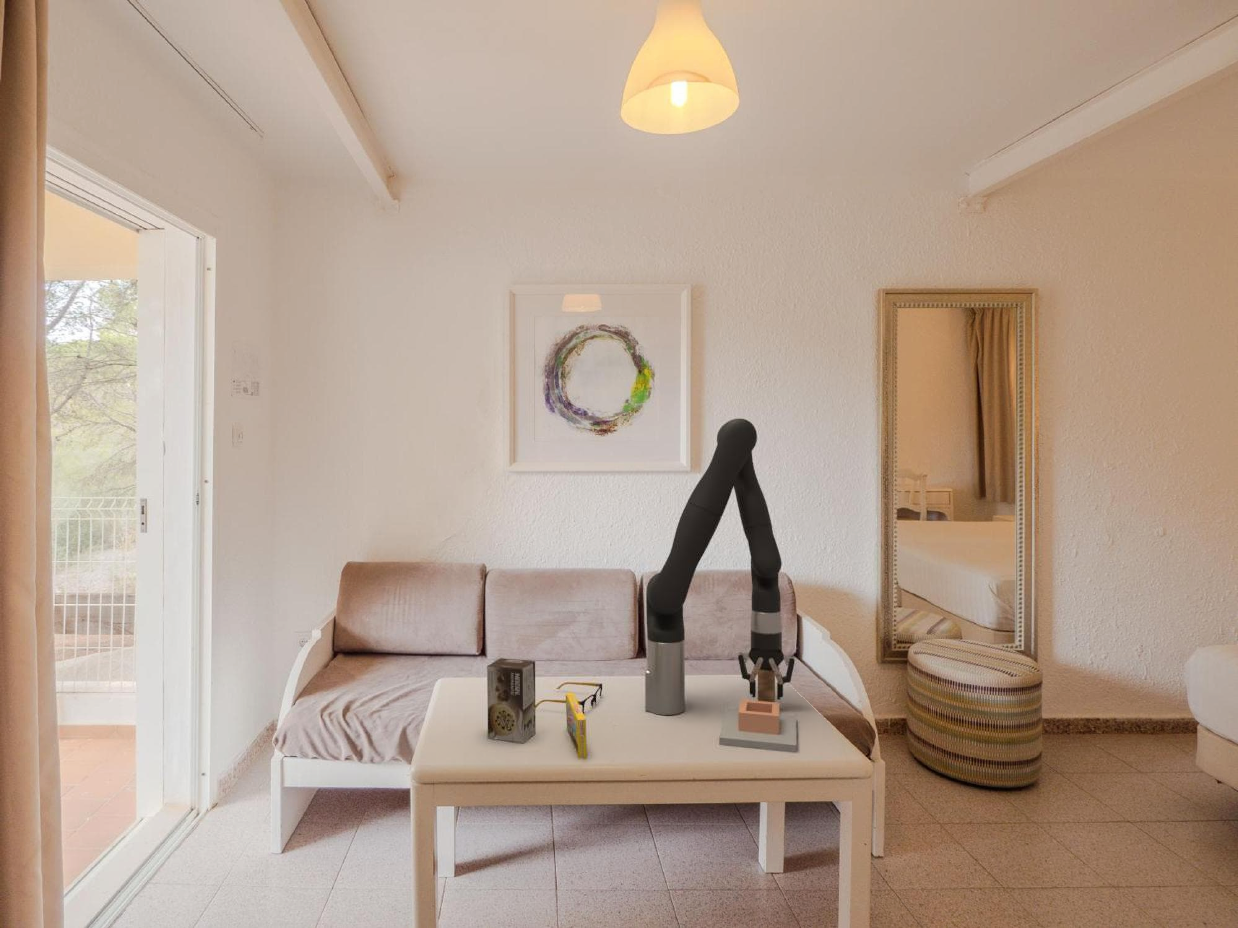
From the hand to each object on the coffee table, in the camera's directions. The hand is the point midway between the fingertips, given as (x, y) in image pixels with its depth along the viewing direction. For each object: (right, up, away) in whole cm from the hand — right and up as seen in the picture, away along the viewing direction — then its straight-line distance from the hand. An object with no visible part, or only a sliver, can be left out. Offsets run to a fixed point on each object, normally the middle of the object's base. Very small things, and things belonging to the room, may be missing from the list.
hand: (766, 697), depth 161 cm
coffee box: (-60, -3, -16) cm, 62 cm away
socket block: (-5, -3, -14) cm, 15 cm away
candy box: (-46, -3, -20) cm, 50 cm away
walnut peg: (0, -3, 0) cm, 3 cm away
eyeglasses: (-49, -4, +5) cm, 49 cm away
